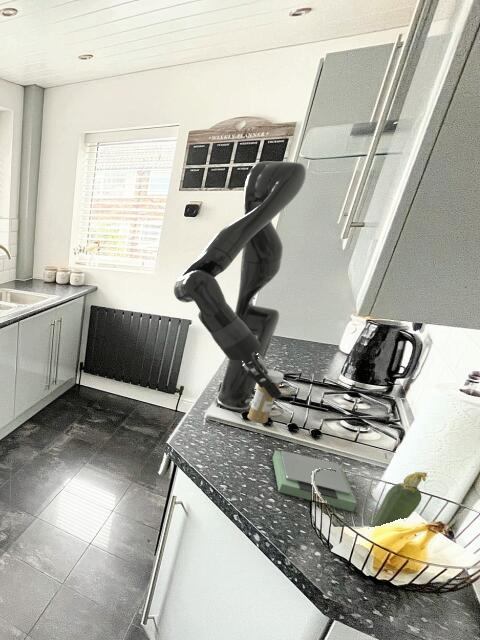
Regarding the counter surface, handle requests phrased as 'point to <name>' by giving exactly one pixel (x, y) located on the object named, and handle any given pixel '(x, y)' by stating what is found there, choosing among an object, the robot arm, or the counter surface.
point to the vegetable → (400, 500)
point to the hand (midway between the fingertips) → (276, 391)
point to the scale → (305, 490)
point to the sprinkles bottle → (264, 399)
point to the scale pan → (302, 467)
